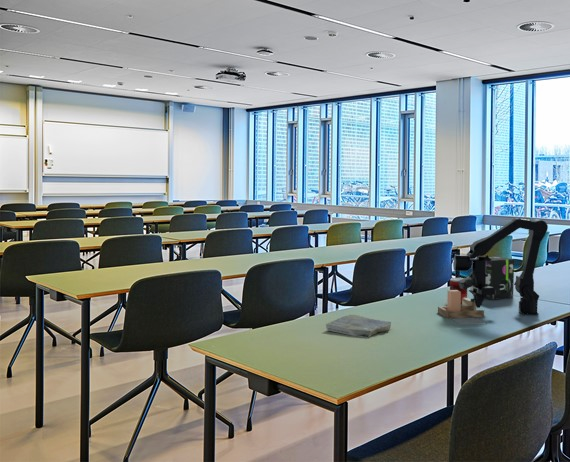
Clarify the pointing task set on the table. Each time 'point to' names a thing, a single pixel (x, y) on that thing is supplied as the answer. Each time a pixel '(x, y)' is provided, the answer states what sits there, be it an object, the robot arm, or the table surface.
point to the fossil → (358, 326)
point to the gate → (468, 302)
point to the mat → (468, 321)
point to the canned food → (458, 287)
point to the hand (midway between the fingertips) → (478, 307)
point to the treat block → (453, 300)
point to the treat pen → (461, 312)
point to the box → (500, 277)
